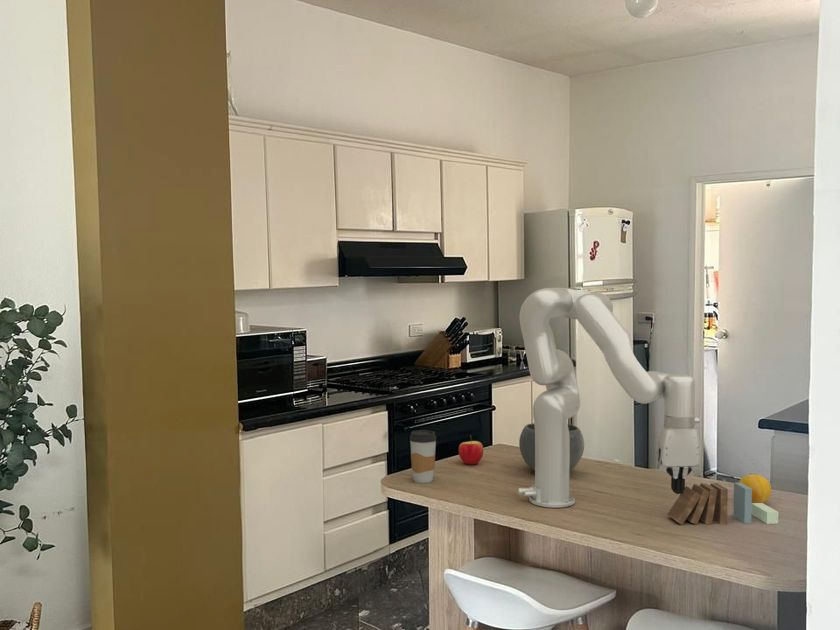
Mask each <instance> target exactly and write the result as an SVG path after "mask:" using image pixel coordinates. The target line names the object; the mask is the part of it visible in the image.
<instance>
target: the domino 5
mask: <svg viewBox="0 0 840 630" xmlns="http://www.w3.org/2000/svg"><path fill="white" fill-rule="evenodd" d="M751 508H752V488H750V487H748V486H746V485H744V484H742V483H741V482H740V483H739V482H734V483H733V510H732V511H733V517H734V518H736V519H737V520H739V521H740V522H742V523H743V524H752V514H751Z"/></svg>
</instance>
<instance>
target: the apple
mask: <svg viewBox="0 0 840 630" xmlns="http://www.w3.org/2000/svg"><path fill="white" fill-rule="evenodd" d="M469 436H470V439H472V435H469ZM458 455H459V457H460V458H459V459H460V460H461V461H462V462H463V463H464V464H466V465H477V464H478V463H479V462H481V460H482V458H483V455H484V445H483V444H482V442H480V441H478V440H470V441H463V442H461V443H460V444H459V446H458Z"/></svg>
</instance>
